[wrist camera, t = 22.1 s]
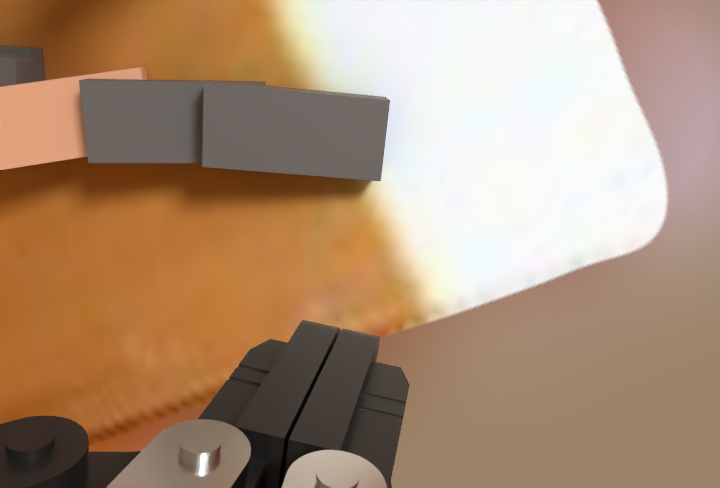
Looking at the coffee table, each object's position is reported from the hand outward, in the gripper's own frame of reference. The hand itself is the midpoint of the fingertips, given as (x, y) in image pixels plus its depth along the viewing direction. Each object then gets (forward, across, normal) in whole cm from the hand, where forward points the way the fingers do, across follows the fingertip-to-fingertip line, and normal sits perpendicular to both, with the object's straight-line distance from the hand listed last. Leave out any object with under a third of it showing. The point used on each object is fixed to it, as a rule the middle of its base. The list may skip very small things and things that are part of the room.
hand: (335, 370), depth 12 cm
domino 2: (+28, +11, 0) cm, 30 cm away
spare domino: (+28, +19, 0) cm, 34 cm away
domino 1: (+28, +3, 0) cm, 28 cm away
